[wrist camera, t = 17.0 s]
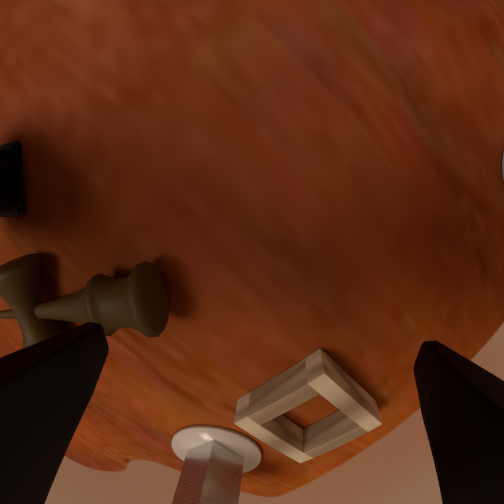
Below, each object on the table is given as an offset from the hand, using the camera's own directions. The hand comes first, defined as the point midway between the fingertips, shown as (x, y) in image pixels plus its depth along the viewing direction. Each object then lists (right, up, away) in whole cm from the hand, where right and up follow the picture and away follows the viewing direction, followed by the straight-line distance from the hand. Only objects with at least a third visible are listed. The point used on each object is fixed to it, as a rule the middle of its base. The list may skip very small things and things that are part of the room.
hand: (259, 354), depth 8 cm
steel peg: (-4, -20, +21) cm, 29 cm away
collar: (+5, -11, +17) cm, 21 cm away
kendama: (-16, -1, +16) cm, 23 cm away
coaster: (-4, -19, +21) cm, 29 cm away
